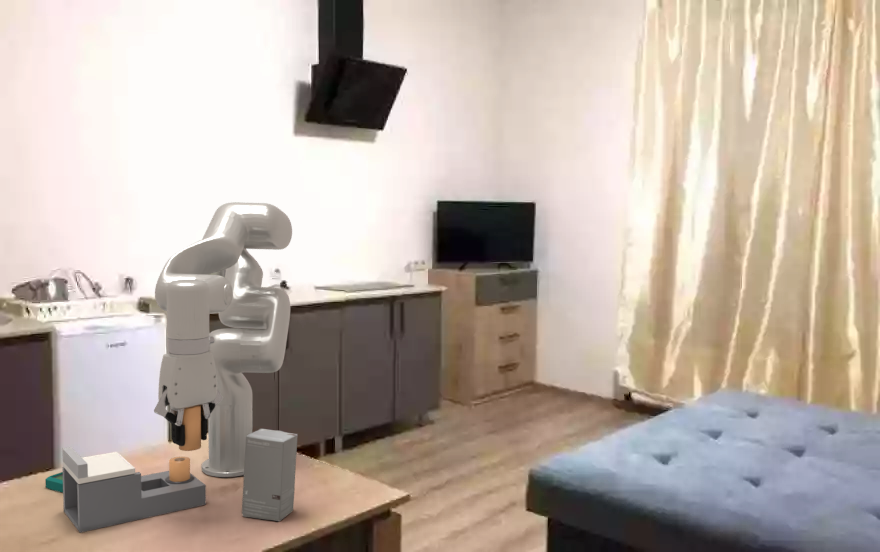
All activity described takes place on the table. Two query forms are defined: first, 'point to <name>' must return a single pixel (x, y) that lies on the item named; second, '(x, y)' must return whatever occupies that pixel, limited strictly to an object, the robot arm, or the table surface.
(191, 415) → the peg
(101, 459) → the lid
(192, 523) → the table surface
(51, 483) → the digital multimeter
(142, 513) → the housing
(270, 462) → the skincare box
